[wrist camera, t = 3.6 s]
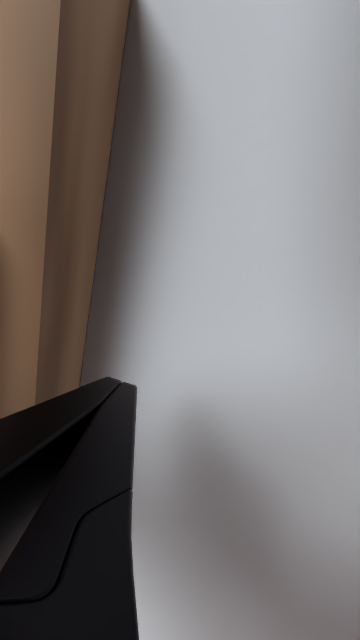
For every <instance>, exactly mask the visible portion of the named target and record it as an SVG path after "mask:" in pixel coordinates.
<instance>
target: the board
mask: <svg viewBox="0 0 360 640" xmlns="http://www.w3.org/2000/svg"><path fill="white" fill-rule="evenodd" d="M129 5H130V0H0V419H1V418H3V417H6V416H8V415H11V414H13V413H16V412H18V411H21V410H23V409H26V408H29V407H31V406H34V405H36V404H39V403H41V402H44V401H46V400H49V399H51V398H54V397H57V396H59V395H62V394H64V393H67V392H69V391H72V390H74V389H77V388H79V385H80V377H81V370H82V362H83V355H84V347H85V340H86V332H87V324H88V317H89V309H90V302H91V294H92V286H93V279H94V271H95V264H96V256H97V248H98V241H99V233H100V226H101V218H102V210H103V203H104V195H105V188H106V180H107V172H108V165H109V157H110V150H111V142H112V134H113V127H114V119H115V112H116V104H117V96H118V89H119V81H120V74H121V66H122V58H123V51H124V43H125V36H126V28H127V21H128V13H129Z"/></svg>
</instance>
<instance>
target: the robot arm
mask: <svg viewBox="0 0 360 640" xmlns="http://www.w3.org/2000/svg"><path fill="white" fill-rule="evenodd" d="M136 401H137V387H136V386H135V385H132V384H129V383H126V382H121V381H120V380H117V379H114V378H111V377H105V378H102V379H100V380H97V381H95V382H92V383H90V384H87V385H85V386H82V387H80V388H77V389H74V390H72V391H69V392H67V393H64V394H62V395H59V396H57V397H54V398H51V399H49V400H46V401H44V402H41V403H39V404H36V405H34V406H31V407H29V408H26V409H23V410H21V411H18V412H16V413H13V414H11V415H8V416H6V417H3V418H1V419H0V640H139V633H138V622H137V610H136V599H135V587H134V576H133V559H132V541H131V521H132V488H133V466H134V444H135V423H136Z"/></svg>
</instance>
